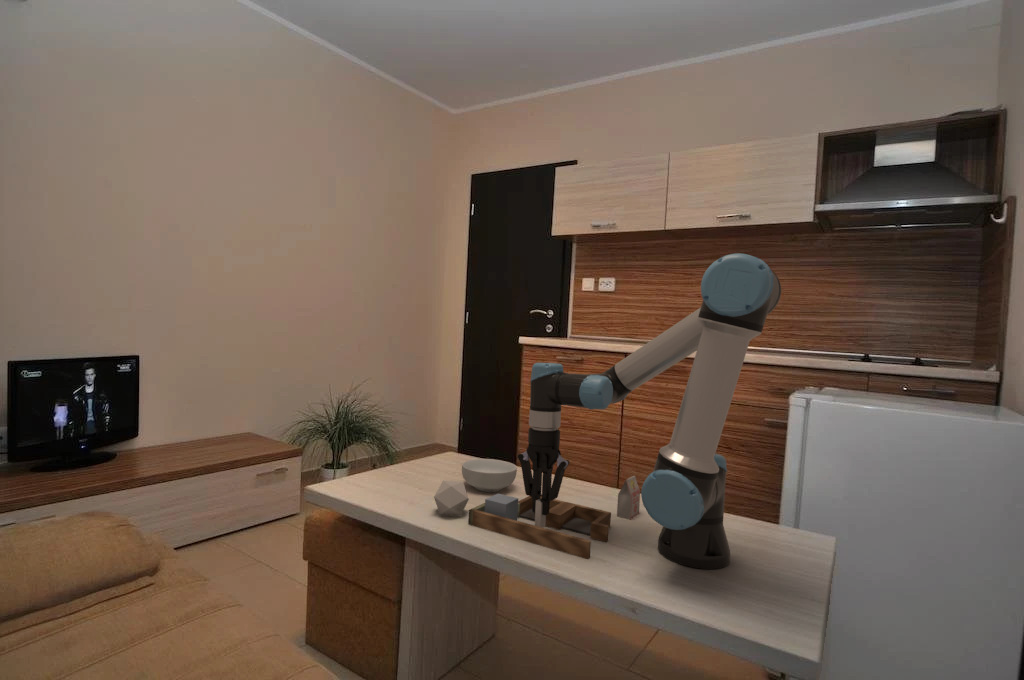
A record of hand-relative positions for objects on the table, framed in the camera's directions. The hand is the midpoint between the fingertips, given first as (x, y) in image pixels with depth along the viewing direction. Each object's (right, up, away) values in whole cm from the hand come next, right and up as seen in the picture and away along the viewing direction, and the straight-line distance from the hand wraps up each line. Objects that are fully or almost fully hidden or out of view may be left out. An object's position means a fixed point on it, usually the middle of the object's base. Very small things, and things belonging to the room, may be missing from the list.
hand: (540, 527), depth 120 cm
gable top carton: (+25, -3, +17) cm, 30 cm away
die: (-22, 0, +10) cm, 25 cm away
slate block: (-9, -1, +6) cm, 11 cm away
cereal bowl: (-14, -1, +34) cm, 37 cm away
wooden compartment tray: (+2, -2, +4) cm, 5 cm away
